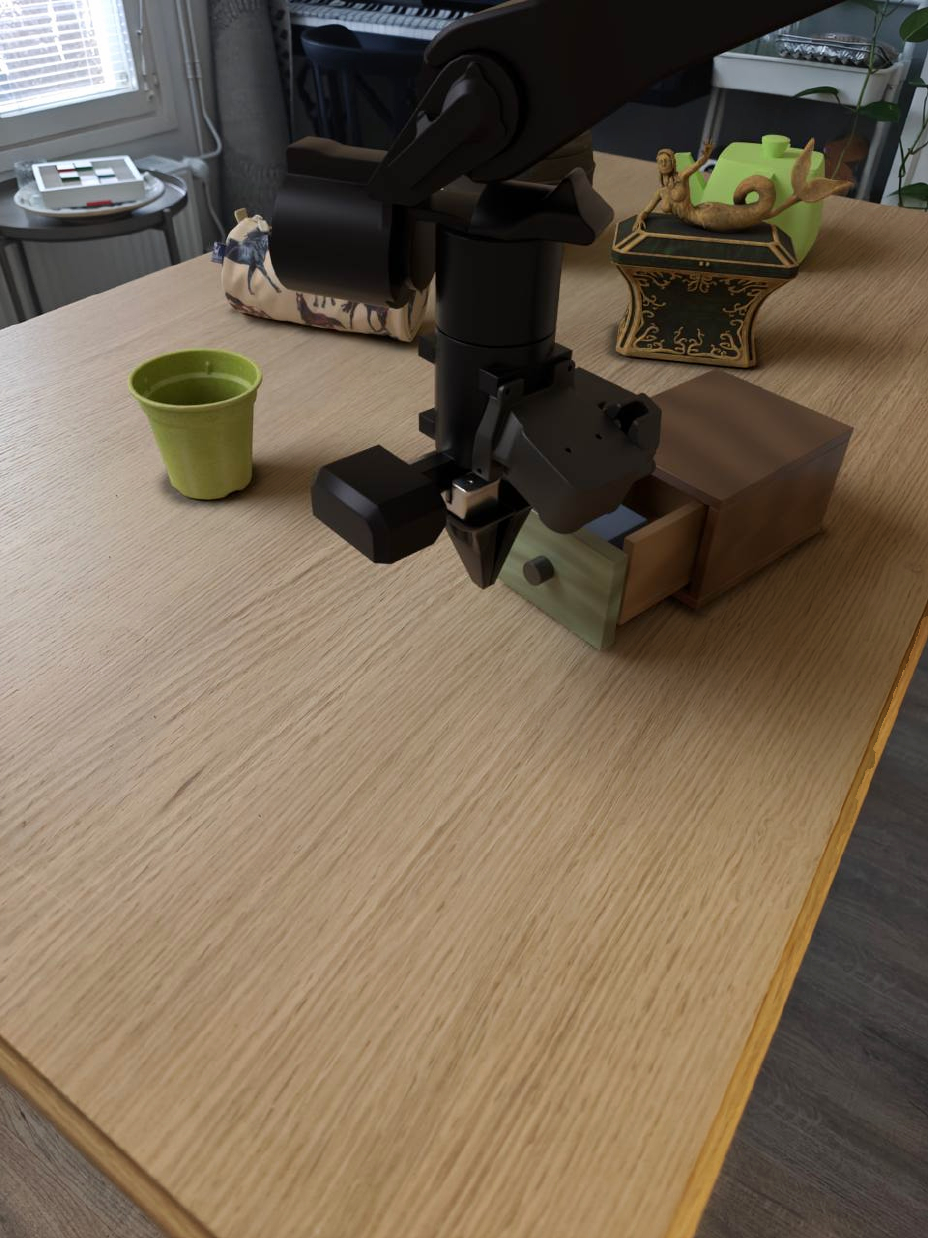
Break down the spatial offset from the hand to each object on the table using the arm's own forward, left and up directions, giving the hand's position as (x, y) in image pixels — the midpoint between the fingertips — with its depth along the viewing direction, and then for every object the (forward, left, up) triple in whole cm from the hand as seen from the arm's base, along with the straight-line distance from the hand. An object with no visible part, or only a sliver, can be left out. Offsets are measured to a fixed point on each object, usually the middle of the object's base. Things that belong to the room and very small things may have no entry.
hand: (483, 583), depth 54 cm
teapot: (+36, -74, -6) cm, 83 cm away
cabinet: (0, -21, -6) cm, 22 cm away
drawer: (0, -11, -5) cm, 12 cm away
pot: (+52, -51, -6) cm, 73 cm away
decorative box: (+20, -47, -6) cm, 52 cm away
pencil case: (+47, -21, -6) cm, 52 cm away
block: (0, -10, -4) cm, 11 cm away
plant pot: (+28, +3, -6) cm, 29 cm away
